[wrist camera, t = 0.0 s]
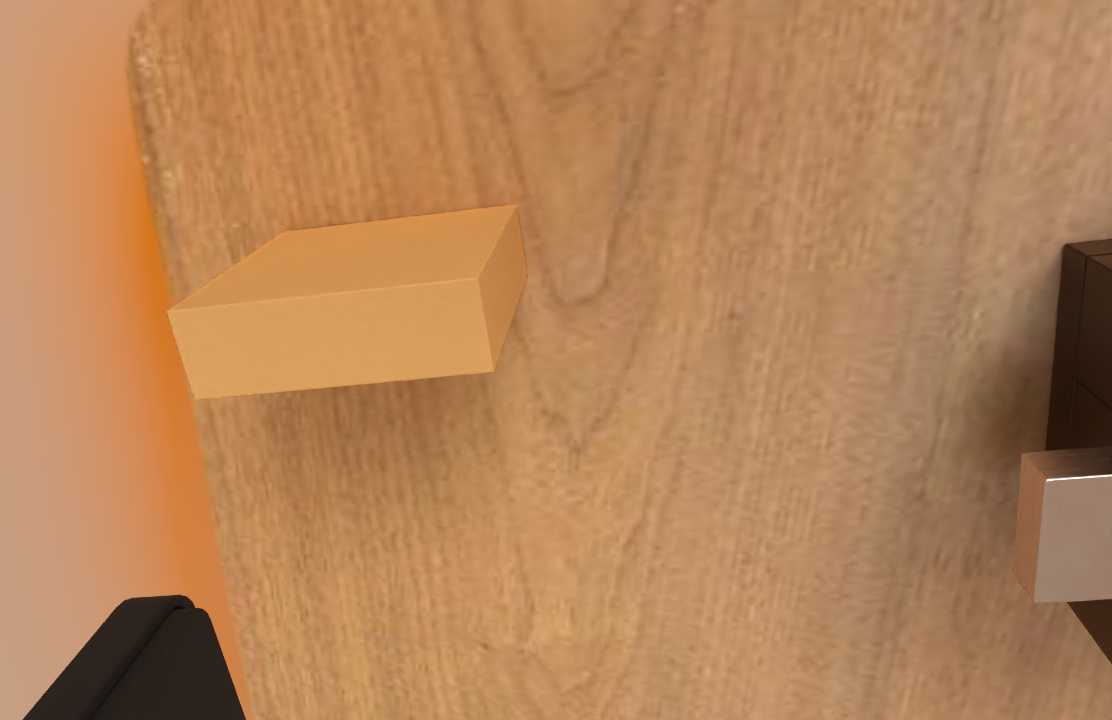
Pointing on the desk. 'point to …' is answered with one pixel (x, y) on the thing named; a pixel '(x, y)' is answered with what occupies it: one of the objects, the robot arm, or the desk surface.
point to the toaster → (1084, 381)
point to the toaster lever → (1065, 525)
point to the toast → (357, 305)
